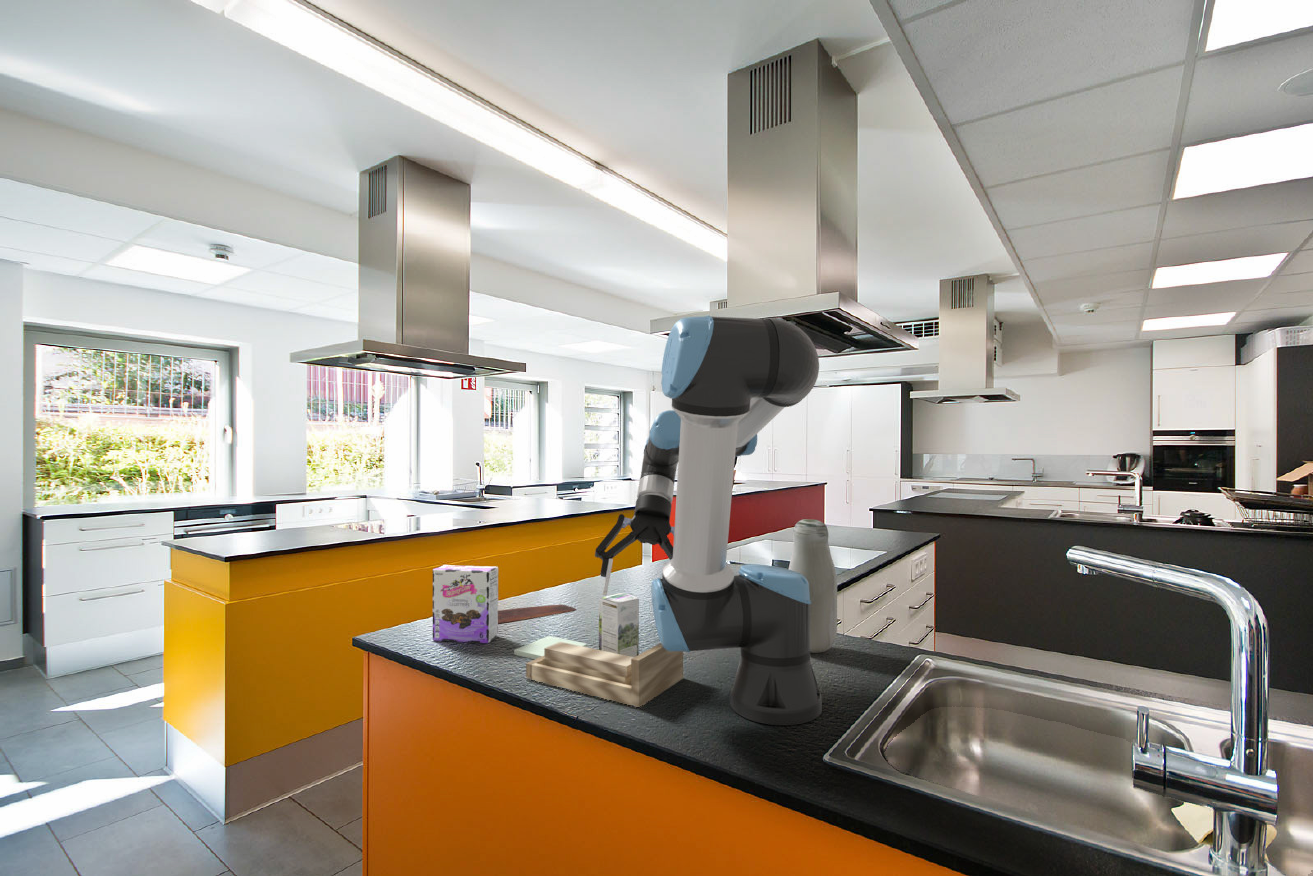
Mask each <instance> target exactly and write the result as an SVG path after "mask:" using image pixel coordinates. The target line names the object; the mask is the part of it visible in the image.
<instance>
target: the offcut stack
mask: <svg viewBox="0 0 1313 876" xmlns="http://www.w3.org/2000/svg"><path fill="white" fill-rule="evenodd" d="M632 658H634V657H630V656H625V655H621V654H616V653H611V652H606V651H601V650H599V649H596V648H591V647H588V648H587V647H582V646H578V645H573V644H568V643H563V642H558V643H556V644H554V645H551V646H549V647H546V648H544V658H543V665H545V666H550V667H554V668H558V669H562V670H567V671H571V672H575V673H579V674H584V675H588V676H592V677H596V678H600V679H605V680H609V681H613V682H617V683H622V684H626V685H630V686H631V659H632Z"/></svg>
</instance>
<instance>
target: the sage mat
mask: <svg viewBox="0 0 1313 876" xmlns="http://www.w3.org/2000/svg"><path fill="white" fill-rule="evenodd" d="M558 642H563V643H568V644H573V645H578V646H582V647H587V648H589V647H588V643H585V642H581V641H576V640H572V639H566V638H561V637H556V636H551V635H548V636H546V637H543V638H541V639H538V640H535V641H533V642H530V643H528V644H526V645H523V646H521V647H518V648H516V649H514V652H513V653H514V656H518V657H521V658H528V659H532V660H535V659H537V658H539V657H542V656H544V648H546V647H549V646H551V645H554V644H556V643H558Z"/></svg>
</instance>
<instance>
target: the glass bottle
mask: <svg viewBox="0 0 1313 876" xmlns="http://www.w3.org/2000/svg"><path fill="white" fill-rule="evenodd" d="M792 539H793V545H792V554H791V556H790V560H789V566H788V569H789V570H792V571H795V572H798V573H800V574H802V575H803V576H804V577H805V578H806V579H807V580H808V583H809V593H810V601H811V604H810V653H813V654H819V653H823V652H826V651H827V652H828V651H829V650H830V649H831V648H832V647H833V646H834V644H835V642H836V639H837V633H838V578H837V577H838V576H837V572H836V567H835V564H834V560H833V558H832V557H833V556H832V553H831V548H830V544H829V529H828V527H827V525H826V523H824V522H823V521H820V520H818V519H811V518H810V519H809V518H808V519H801V520H798V521H797V522H796V524H794V527H793V532H792Z"/></svg>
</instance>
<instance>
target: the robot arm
mask: <svg viewBox="0 0 1313 876" xmlns="http://www.w3.org/2000/svg"><path fill="white" fill-rule="evenodd" d="M674 323H675V324H673V326H672V328H671V329H670V332H669V333H668V336H667V339H666V343H665V347H664V350H663V351H664V352H663V358H662V365H661V383H660V384H661V390H662V394H663V395H664V396H665V397H666V398H668V399H671V409H672V410H665V411H662V412H660V413H659V414H658V415H657V416H655V418H654V421H653V423H652V426H651V427H650V430H649V435H648V437H647V439H646V442H645V445H644V449H643V458H642V465H641V470H640V477H639V483H638V489H637V494H636V501H635V507H634V513H633V517H632V518H630V517H629V518H628V517H625V515H624V514H623V513H620V514H619V515H618V517H617V521H616V524H614V526H613V527H612V528H611V529H610V531H609V532H608V533H607V534H606V535H605V537H604V538H603V539H602V540H601V542H600V543H599V545H598V546H597V547H596V548H595V551H594V557H595V558H598V559H600V560H601V561H602V563H601V568H600V577H602V578H605V579H604V585H603V590H602V596H604V597H606V596H608V595H607V594H608V592H609V591H608V589H609V584H610V579H611V575H612V574H611V572H612V569H613V561H614V558H615V557H616V556H618V554H620V553H621V552H623V550H625V549H626V548H627V547H629V546H630V545H632V544H633V543H634V542H636V541H638V542H639V543H641V544H649V545H651V546H652V545H653V546H656V545H659V547H660V549H662V550H663V552H664V553H665V554H666V556H667V558H668V559H669V560H668V561H667V562H666V563H665V564H664V565H663V567H662V578H661V577H660V578H659V577H657V578H655V579H653V580H652V581H651V585H650V593H651V595H650V596H651V603H652V609H653V615H654V616H653V617H654V623H655V627H656V628H655V629H656V631H657V635H658V639H659V643H661V644H662V646H663V647H664V648H665V649H666V650H668V651H683V652H686V653H691V652H693V651H694V652H696V651H698V652H699V651H708V650H711V651H712V650H722V649H723V650H724V649H737V648H740V658H739V662H738V666H737V669H736V672H735V676H734V680H733V683H732V686H731V687H730V693H729V694H730V706H731V708H732V710H733V711H734V712H735V713H737V714H738V715H739V716H741V717H743V718H744V719H747V720H750V721H752V722H755V723H761V724H766V725H773V726H797V725H801V724H805V723H809V722H811V721H813V720H815V719H817V718H818V717H820V715H821V714H822V711H823V708H822V705H823V703H822V701H823V700H822V693H821V690H820V689H819V685H818V681H817V678H816V675H815V672H814V669H813V666H812V663H811V652H810V604H811V601H810V593H809V583H808V580H807V579H806V578H805V577H804V576H803V575H802V574H800V573H798V572H795V571H792V570H789V568H784V567H779V566H775V565H766V564H756V563H755V564H753V563H752V564H751V563H750V564H743V565H741V566H740V567H739V570H738V575H735V573H734V572H735V571H734V570H733V568H732V567H731V566H730V565H728V563H727V554H728V553H727V552H728V544H729V543H728V542H729V533H730V532H729V531H730V519H731V508H732V506H731V505H732V495H733V486H734V484H733V483H734V476H735V475H734V472H735V462H736V458H737V457H741V456H750V455H752V454H753V453H755V451H756V447H757V444H758V433H760V431H762V430H763V429H764V428H765V427H766V426H767V425H768V424H769V423H770V422H771V421H772V420H773V419H775V417H776V416H777V415H778V414H779V413H781V412H782V411H783V410H784V409H785V408H790V407H793V406H795V405H798V404H799V403H800V402H802V401H803V399H805V398H806V397H808V395H809V394H810V392H811V391H812V390H813V388H814V387H815V385H816V382H817V380H818V378H819V372H820V359H819V355H818V352H817V348H816V347H815V345H814V343H813V341H812V339H811V338H810V337H809V335H807V333H805V331H803V330H802V329H801V327H799V326H796V325H795V324H793V323H792V322H790V321H786V320H783V319H778V318H769V317H767V318H750V317H748V318H747V317H731V316H730V317H729V316H728V317H727V316H710V315H705V316H704V315H703V316H690V317H689V316H688V317H682V318H681V319H679V320H677V321H676V322H674ZM676 472H677V473H676ZM676 474H677V479H676ZM675 480H677V482H676V498H675V500H676V501H675V514H674V515H675V516H674V526H672V525H671V524H670V522H671V515H672V514H671V512H672V503H673V498H674V492H675V491H674V490H675ZM628 526H630V529H631V531H630V532H629V533H628V534H627V535H626V536H625V537H623V539H621V540H620V541H618V542H617V543H615V545H613V546H612V547H610V548H609V549H608V547H609V546H610V545H611V544H612V542H613V541H614V540H615V539H616V537H617V536H618V535H619V534H620V532H621V530H622V529H625V528H626V527H628ZM670 534H672V535H673V544H672V542H671V541H670V538H669V537H668V535H670ZM607 549H608V550H607ZM606 550H607V551H606Z"/></svg>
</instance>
